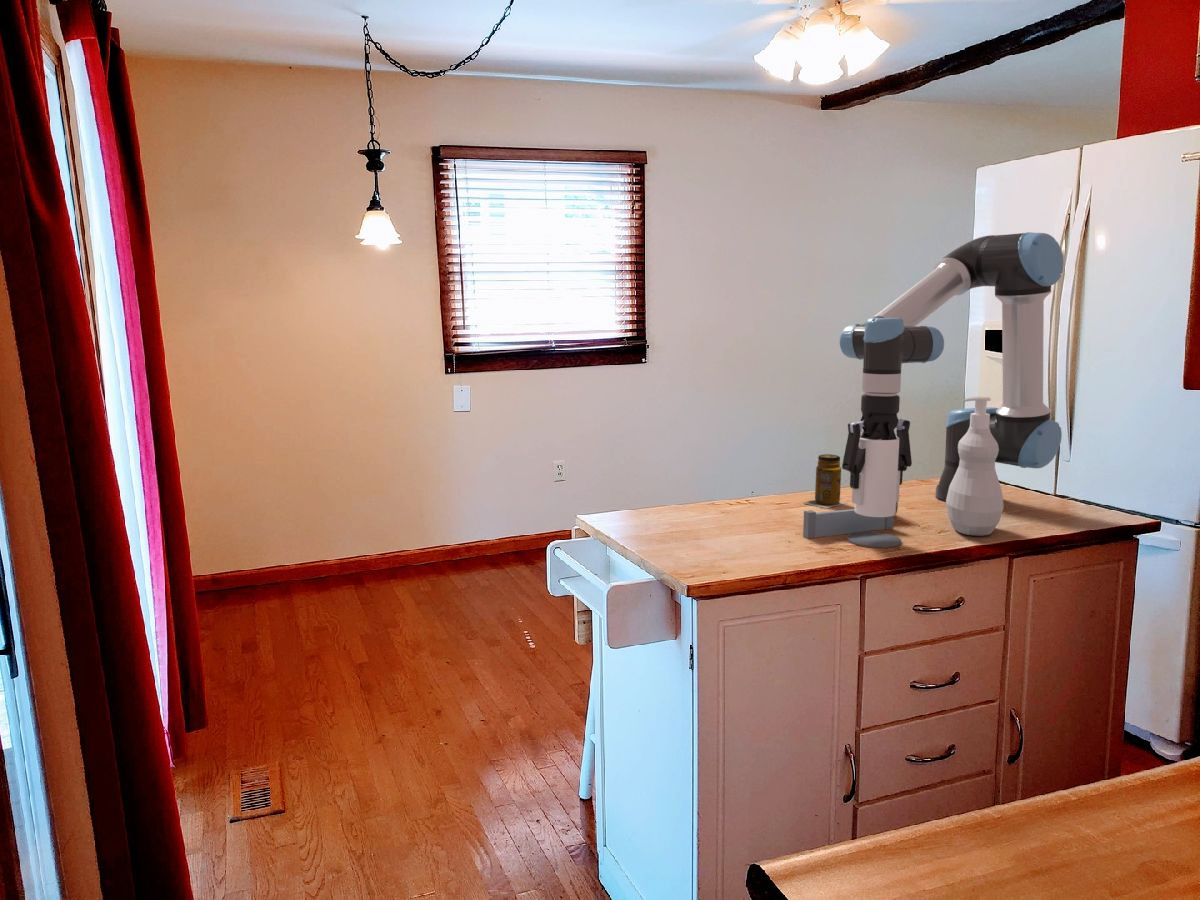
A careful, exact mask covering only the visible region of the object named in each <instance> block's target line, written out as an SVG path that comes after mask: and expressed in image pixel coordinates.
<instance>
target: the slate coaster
mask: <svg viewBox="0 0 1200 900" xmlns="http://www.w3.org/2000/svg"><path fill="white" fill-rule="evenodd" d="M846 541H847V542H849V544H852V545H855V546H859V547H863V548H864V547H865V548H871V549H872V548H873V549H886V548H887V549H888V548H889V549H890V548H896V547H898V546H901V545H902V539H901V538H899V536H895V535H893V534H888V533H883V532H873V531H865V532H856V533H849V534H848V535H847V536H846Z"/></svg>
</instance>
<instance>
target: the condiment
mask: <svg viewBox="0 0 1200 900" xmlns="http://www.w3.org/2000/svg"><path fill="white" fill-rule="evenodd" d="M817 459H818V461H817V466H816V468H815V488H814V489H815V490H814V499H812V500H808V501H804V502H803V504H806V505H809V506H813V507H819V508H825V509H830V508H833V507H837V506H840V505H844V504H846V503H847V502H846V501H841V484H842V483H841V482H842V481H841V480H842V466H841V456H839V455H836V454H831V453H830V454H827V453H826V454H825V453H824V454H819V455H818V457H817Z"/></svg>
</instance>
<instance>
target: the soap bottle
mask: <svg viewBox="0 0 1200 900" xmlns="http://www.w3.org/2000/svg"><path fill="white" fill-rule="evenodd" d="M991 400H992V399H991V397H990V396H989V397H988V396H970V397H967V398H963V399H962V402H963V403H964V402H974V408H975V413H971V415H970V427H969V429H968V431H967V433H966V434H965V435H964V436H963V437H962V439H961V440H960V441H959V444H958V453H959V457H960V462H959V467H958V469H957V471H956V473H955V475H954V478H953V480H952V482H951V484H950V486H949V490H948V494H947V499H946V501H945V504H946V511H947V516H948V519H949V521H950V523H951V525H952V527H953V529H954V530H955V531H957V532H958V533H960V534H964V535H968V536H976V537H977V536H979V537H981V536H987V535H990V534H992V533H993V531H994V530H995V529H996V527H997V526H998V524H999V523H1000V521H1001V518H1002V514H1003V512H1004V506H1005V504H1004V498H1003V497H1004V496H1003V491H1002V487H1001V484H1000V481H999V477H998V474H997V472H996V471H997V470H996V462H995V460H996V458H997V455H998V451H999V448H998V443H997V442H996V440H995V439H994V437H993V436H992V434H991V432H990V428H989V422H990V414H986V407H987V405H988V402H990V401H991Z"/></svg>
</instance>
